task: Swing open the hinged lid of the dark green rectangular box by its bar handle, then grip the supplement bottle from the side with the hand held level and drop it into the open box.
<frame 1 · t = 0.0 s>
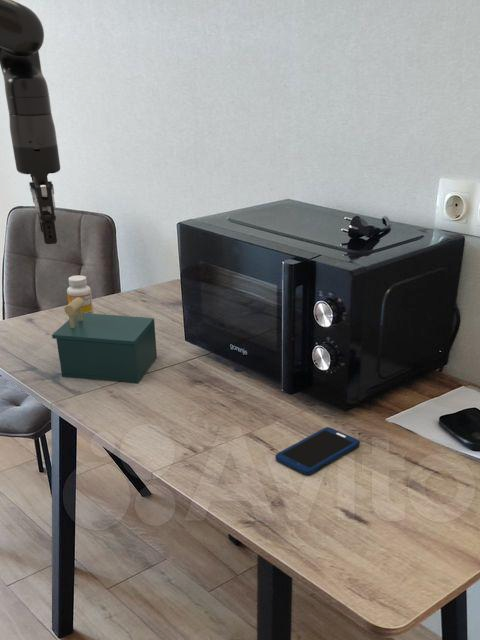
hand: (49, 237, 131), 25 cm above the table, tool pointing down, fingers open, 8 cm apart
dark green rectangular box: (111, 366, 143), on the table
supplement bottle: (82, 319, 166), on the table
cell phone: (318, 452, 116), on the table
green box lid: (103, 316, 137), point 11 cm above the table, hinge at 0.0°
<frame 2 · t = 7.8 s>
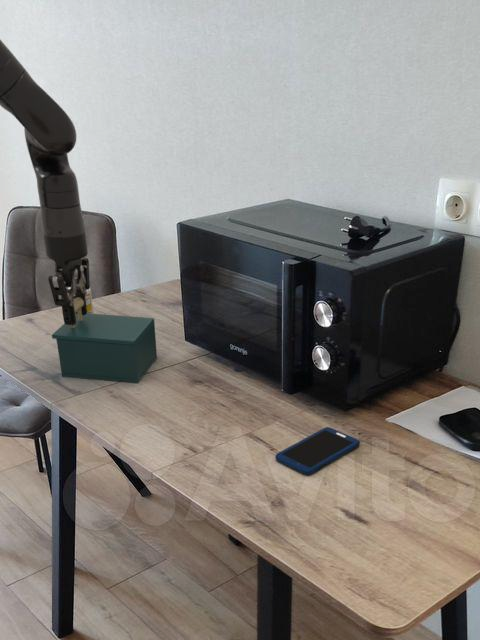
hand: (76, 318, 138), 10 cm above the table, tool pointing down, fingers closed on green box lid, 5 cm apart
green box lid: (103, 316, 137), point 11 cm above the table, hinge at 0.0°, touching gripper
everything else where it was.
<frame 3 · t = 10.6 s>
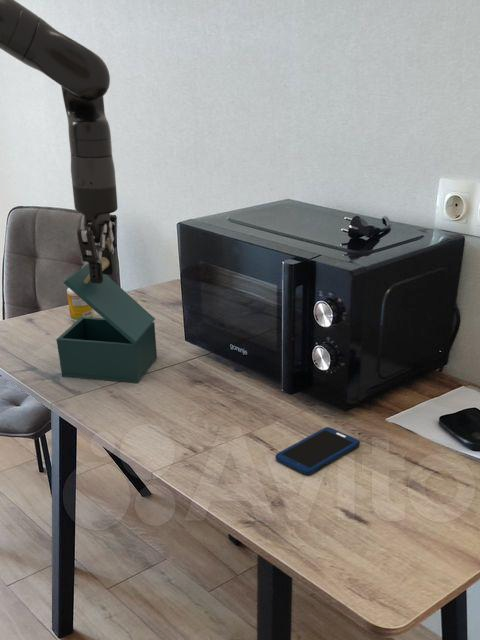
hand: (102, 277, 133), 18 cm above the table, tool pointing down, fingers closed on green box lid, 5 cm apart
green box lid: (118, 293, 134), point 15 cm above the table, hinge at 41.6°, touching gripper
everything else where it was.
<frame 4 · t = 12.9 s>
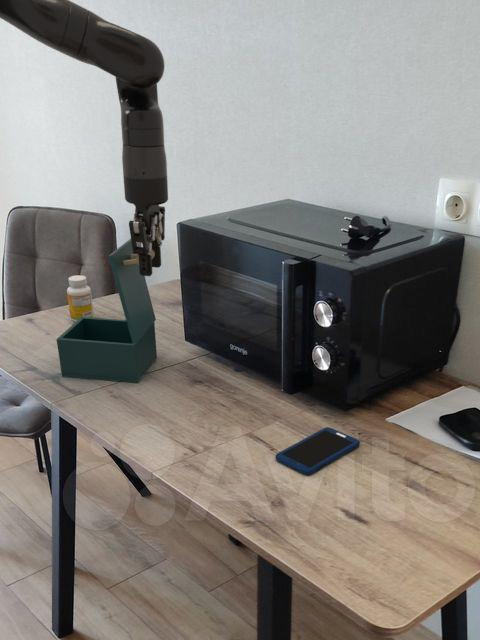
hand: (150, 270, 131), 20 cm above the table, tool pointing down, fingers closed on green box lid, 5 cm apart
green box lid: (145, 288, 133), point 17 cm above the table, hinge at 79.4°, touching gripper
everything else where it was.
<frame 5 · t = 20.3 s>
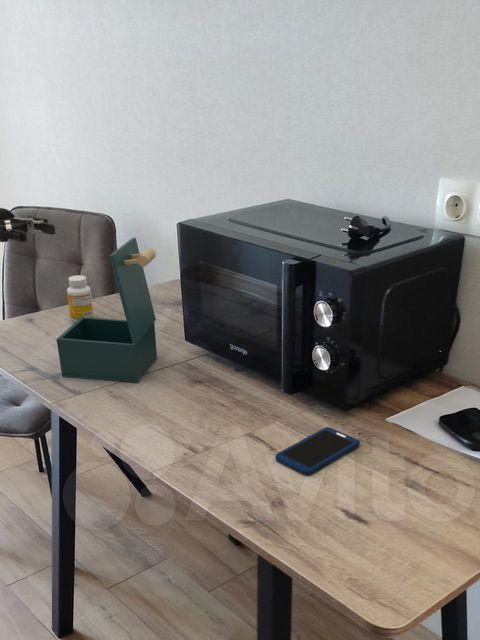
hand: (39, 233, 160), 18 cm above the table, tool horizontal, fingers open, 8 cm apart
green box lid: (145, 288, 133), point 17 cm above the table, hinge at 80.1°
everything else where it was.
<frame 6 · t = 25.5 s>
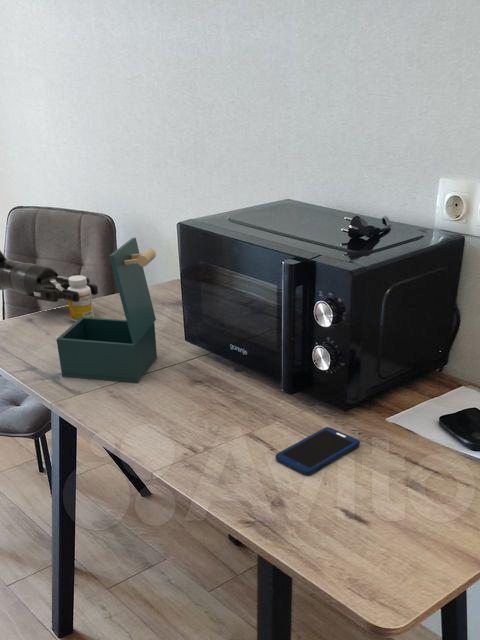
hand: (87, 293, 161), 6 cm above the table, tool horizontal, fingers closed on supplement bottle, 5 cm apart
supplement bottle: (82, 319, 166), on the table, touching gripper
everything else where it was.
when the fingers open (12 cm above the table, at t = 36.1 s): supplement bottle drops 4 cm, resting on dark green rectangular box.
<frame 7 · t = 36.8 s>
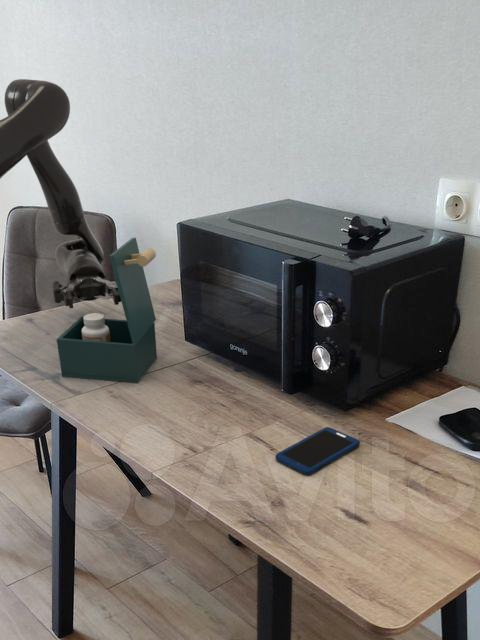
hand: (94, 301, 134), 14 cm above the table, tool horizontal, fingers open, 8 cm apart
supplement bottle: (99, 363, 143), point 1 cm above the table, touching dark green rectangular box
everything else where it was.
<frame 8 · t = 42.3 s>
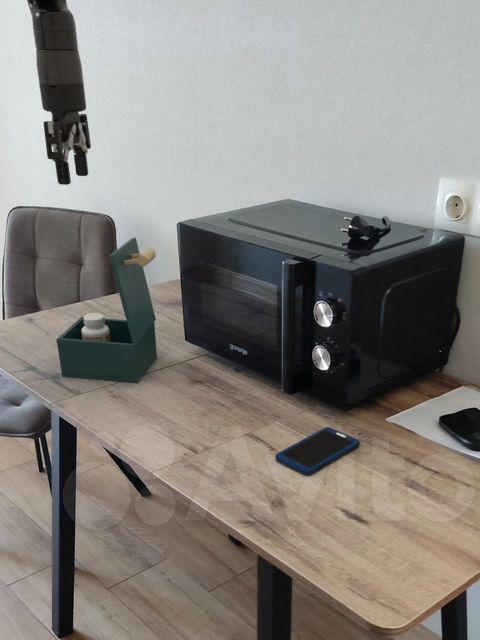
hand: (73, 179, 131), 34 cm above the table, tool pointing down, fingers open, 8 cm apart
nothing on the table moved.
at the end: green box lid at +80° (first picture: +0°); supplement bottle inside the target area in the dark green rectangular box (2.4 cm from its centre), point 0.6 cm above the dark green rectangular box's base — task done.
